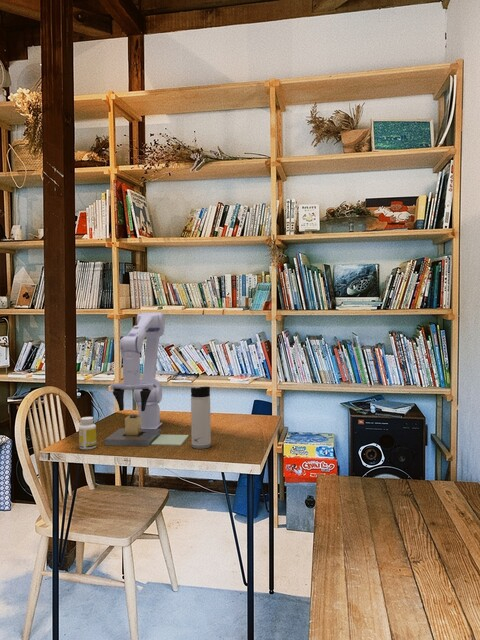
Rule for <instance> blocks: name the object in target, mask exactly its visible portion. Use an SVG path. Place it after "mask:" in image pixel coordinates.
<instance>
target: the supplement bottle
mask: <svg viewBox="0 0 480 640" xmlns="http://www.w3.org/2000/svg"><path fill="white" fill-rule="evenodd" d="M94 420H95V419H94V416H83V417H81V418H80V423H81V424H80V425H79V426H78V447H79V449H81V450H82V451H83V450H85V451H86V450H92V449H96V447H97V425H96V424H95V423H94Z"/></svg>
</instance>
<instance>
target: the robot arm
mask: <svg viewBox="0 0 480 640" xmlns="http://www.w3.org/2000/svg"><path fill="white" fill-rule="evenodd" d="M165 325H166V317H165V314H164V313H163V312H162V311H159V312H141V311H140V312H138V313H137V316H136V325H133V326H132V327H131V328H130V330H129V332H128V334H127V335H123V337H121V338H120V340H119V350H120V356H121V359H122V376H123V379H122V380H123V382H118V383H116V382H113V383H110V391H112V395H113V396H114V398H115V400H116V402H117V405H118V410H119V411H120V412H122V411H124V409H125V406H124V405H125V401H124V396H125V395H124V394H125V390H131V391H133V394H132V397H133V400H134V402H135V403H136V405H137V407H138V416H141V419H142V429H159V428H160V427H161V426H162V425H163V422H160V420H161V417H160V416H161V415H160V414H161V413H160V411H161V409H160V406H159V404H160V403H161V401H162V399H163V386H162V383H161V382H160V381H159V380H158V379H157V378H156V374H157V362H158V352H159V344H160V343H159V342H160V338H161V337H162V336H163V335H164V334H165V327H166V326H165ZM145 338H146V339H145ZM144 340H145V341H146V342H145V353H144V361H143V372H142V377H141V359H140V358H141V353H142V349H143V344H144Z"/></svg>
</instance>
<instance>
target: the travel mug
mask: <svg viewBox="0 0 480 640" xmlns="http://www.w3.org/2000/svg"><path fill="white" fill-rule="evenodd" d="M190 421H191V422H190V423H191V433H190V434H191V448H193V449H197V450H198V449H199V450H204V449H207V448H208V449H209V448H210V447H211V446H212V441H211V440H212V439H211V435H212V431H211V428H212V427H211V387H210V386H199V387H190Z"/></svg>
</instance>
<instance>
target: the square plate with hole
mask: <svg viewBox="0 0 480 640" xmlns="http://www.w3.org/2000/svg"><path fill="white" fill-rule="evenodd" d="M161 431H162V429H161V428H157V429H142V435H141V436H140V437H136V436H125V427H124V428H123V427H120V428H118V429H117V430H115V431H114V432H112V433H111V434H110V435H108V436H107V437H105V438H104V446H113V447H115V446H116V447H117V446H118V447H119V446H125V447H149V446H150V445H151V444H152V443H153V442H154V441H155V440H156V439H157V438H158V437H159V436H160V435H162V433H161Z"/></svg>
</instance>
